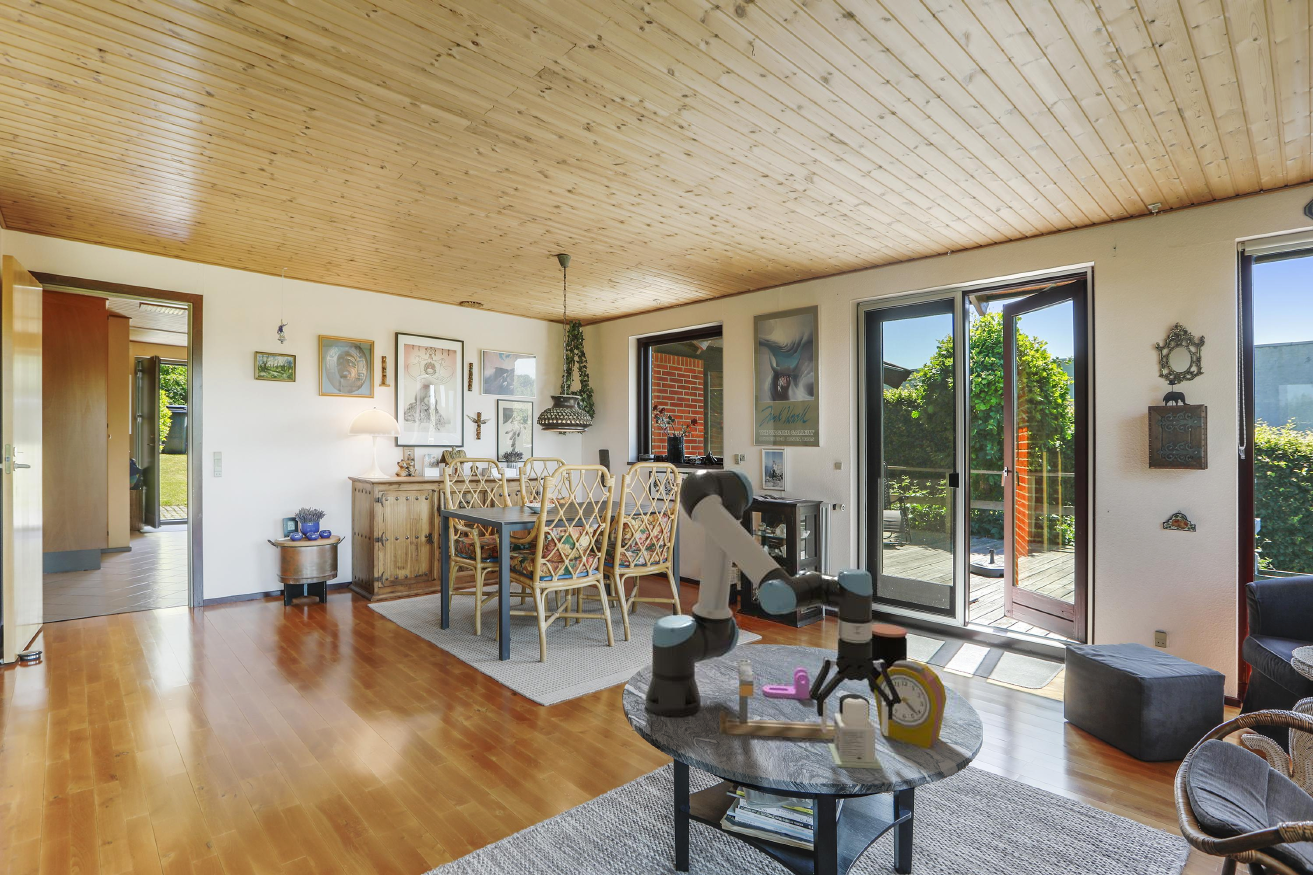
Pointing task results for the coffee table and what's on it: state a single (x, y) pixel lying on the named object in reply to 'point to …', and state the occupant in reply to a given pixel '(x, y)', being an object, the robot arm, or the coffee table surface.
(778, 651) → the coffee table surface
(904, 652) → the coffee jar
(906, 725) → the alarm clock
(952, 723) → the coffee table surface
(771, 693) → the bracket
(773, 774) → the coffee table surface
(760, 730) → the rail
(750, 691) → the grey l-shaped beam
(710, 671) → the coffee table surface
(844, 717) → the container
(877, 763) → the pad
